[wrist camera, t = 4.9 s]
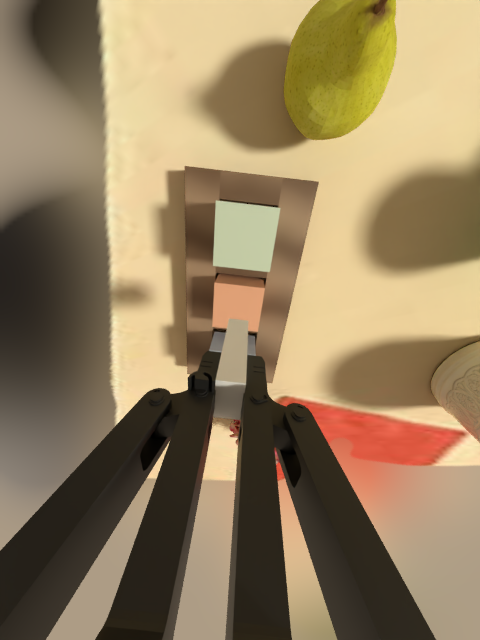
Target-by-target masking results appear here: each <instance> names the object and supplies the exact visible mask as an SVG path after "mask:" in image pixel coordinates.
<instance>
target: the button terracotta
mask: <svg viewBox="0 0 480 640" xmlns="http://www.w3.org/2000/svg"><path fill="white" fill-rule="evenodd" d="M264 291H265V286H264V281H263V278H260V277H251V276H242V275H233V274H224V273H219V275H218V277H217V279H216V281H215V283H214V302H213V322H212V327H218V328H227V325H228V321H229V319H238V320H247V321H248V331H254V332H258V328H259V322H260V316H261V309H262V303H263V297H264Z"/></svg>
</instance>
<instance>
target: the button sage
mask: <svg viewBox="0 0 480 640" xmlns="http://www.w3.org/2000/svg"><path fill="white" fill-rule="evenodd" d="M279 214H280V208H277V207H268V206H260V205H251V204H242V203H234V202H225V201H217V200H216V208H215V230H214V252H213V266H219V267H228V268H237V269H246V270H254V271H263V272H270V268H271V262H272V256H273V250H274V244H275V238H276V232H277V226H278V220H279Z"/></svg>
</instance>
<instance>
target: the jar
mask: <svg viewBox="0 0 480 640" xmlns="http://www.w3.org/2000/svg"><path fill="white" fill-rule="evenodd" d="M431 391H432V393H433V395H434V396H435V398H436V399H437V401H438V403H439V404H440V405H441V406H442V407H443V408H444V409H445V410H446V411H447V412H448V413H449V414H451V415H452V416H453V417H454V418H455V419H456V420H457V421H458V422H459V423H460V424H461V425H462V426H463V427H464V428H465V429H466V430H467V431H468V432H469V433H470V434H471V435H472V436H473V437H474V438H475V439H476V440H477V441H478V442H479V443H480V341H479V342H476V343H473V344H470V345H468V346H466V347H464V348H462V349H460V350H458V351H457V352H455V353H453V354H452V355H451V356H449V357H448V358H447V359H446V360H445V361H444V362H443V363H442V364H441V365H440V366H439V367H438V368H437V370H436V371H435V373H434V375H433V377H432V380H431Z"/></svg>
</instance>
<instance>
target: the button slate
mask: <svg viewBox="0 0 480 640" xmlns="http://www.w3.org/2000/svg"><path fill="white" fill-rule="evenodd" d="M225 335H226V333H224V332H214V335H213V339H212V342H211V346H210V349H209V351H215V352H222V348H223V344H224V339H225ZM247 355H254V356H256V352H255V336H251V335H248V346H247Z"/></svg>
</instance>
